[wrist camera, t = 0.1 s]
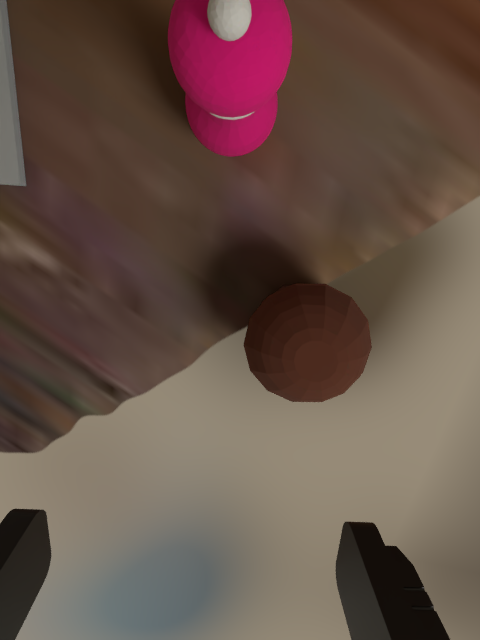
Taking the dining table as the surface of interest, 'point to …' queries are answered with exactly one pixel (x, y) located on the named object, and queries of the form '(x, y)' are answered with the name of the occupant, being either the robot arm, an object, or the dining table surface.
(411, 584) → the robot arm
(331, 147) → the dining table surface
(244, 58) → the pepper mill
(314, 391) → the muffin
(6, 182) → the mat
